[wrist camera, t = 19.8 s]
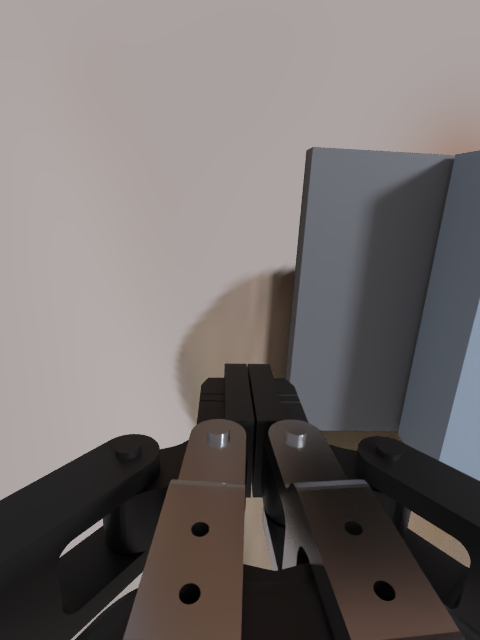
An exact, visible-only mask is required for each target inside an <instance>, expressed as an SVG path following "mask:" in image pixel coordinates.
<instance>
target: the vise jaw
mask: <svg viewBox="0 0 480 640" xmlns="http://www.w3.org/2000/svg"><path fill="white" fill-rule="evenodd" d="M398 436H399V437H400V438H401V440H402V441H403V443H404V444H406V445H408V446H410V447H412V448H414V449H416V450H418V451H420V452H422V453H424V454H426V455H429V456H431V457H433V458H435V459H437V460H439V461H441V462H443V463H445V464H447V465H449V466H451V467H453V468H455V469H457V470H459V471H461V472H463V473H465V474H467V475H469V476H471V477H473V478H475V479H477V480H479V481H480V151H474V152H468V153H463V154H457V155H455V159H454V164H453V169H452V174H451V178H450V183H449V188H448V193H447V198H446V203H445V207H444V212H443V217H442V222H441V227H440V232H439V237H438V241H437V246H436V251H435V256H434V261H433V266H432V271H431V275H430V280H429V285H428V290H427V295H426V300H425V304H424V309H423V314H422V319H421V324H420V329H419V334H418V338H417V343H416V348H415V353H414V358H413V363H412V368H411V372H410V377H409V382H408V387H407V392H406V397H405V401H404V406H403V411H402V416H401V421H400V426H399V431H398Z"/></svg>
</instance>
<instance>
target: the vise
mask: <svg viewBox="0 0 480 640" xmlns="http://www.w3.org/2000/svg"><path fill="white" fill-rule="evenodd" d="M454 159H455V155H454V156H453V155H438V154H421V153H404V152H387V151H386V152H385V151H370V150H353V149H335V148H319V147H312V148H311V149H309V150H307V152H306V162H305V163H306V164H305V174H304V185H303V195H302V205H301V216H300V226H299V237H298V247H297V258H296V268H295V279H294V290H293V300H292V311H291V321H290V332H289V343H288V353H287V364H286V375H285V379H286V380H288V381H289V382H290V383H291V384H292V385H294V386H295V389H296V392H297V394H298V397H299V399H300V403H301V405H302V407H303V410H304V412H305V415H306V417H307V420H308V423H310V424H312V425H314V426H315V427H317V428H318V429H319V430H320V431H382V432H398V431H399V426H400V421H401V416H402V411H403V406H404V401H405V397H406V392H407V387H408V382H409V377H410V372H411V368H412V363H413V358H414V353H415V348H416V343H417V338H418V334H419V329H420V324H421V319H422V314H423V309H424V304H425V300H426V295H427V290H428V285H429V280H430V275H431V271H432V266H433V261H434V256H435V251H436V246H437V241H438V237H439V232H440V227H441V222H442V217H443V212H444V207H445V203H446V198H447V193H448V188H449V183H450V178H451V174H452V169H453V164H454Z"/></svg>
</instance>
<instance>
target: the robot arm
mask: <svg viewBox="0 0 480 640" xmlns="http://www.w3.org/2000/svg"><path fill="white" fill-rule="evenodd" d="M251 483H252V493H253V497H263V504H264V505H263V520H262V521H263V527H264V532H265V536H266V541H267V546H268V550H269V555H270V560H271V564H272V569H273V570H267V569H263V568H258V567H254V566H250V565H245V564H243V551H244V515H245V506H246V497H250V496H251ZM411 511H413V512H414V513H416V514H417V515H419V516H421V517H422V518H424V519H425V520H427V521H429V522H430V523H432V524H433V525H435V526H437V527H438V528H440V529H441V530H443V531H445V532H446V533H448V534H450V535H451V536H453V537H454V538H456V539H457V540H458V541H459V542H461V543H462V545H463V546H464V547H465V548H466V550H467V551H468V553H469V556H470V560H471V564H470V568H468V567H466V566H464V565H462V564H461V563H459V562H458V561H456V560H455V559H453V558H452V557H450V556H449V555H447V554H446V553H444V552H443V551H441V550H440V549H438V548H437V547H435V546H434V545H432V544H431V543H429V542H428V541H426V540H425V539H423V538H422V537H420V536H419V535H417V534H416V533H414V532H413V531H411V530H410V529H408V528H407V527H408V522H409V517H410V513H411ZM102 518H103V526H102V527H101V528H99V529H98V530H96V531H95V532H94V533H93V534H91V535H90V536H89V537H87V538H86V539H84V540H83V541H82V542H80V543H79V544H78V545H76V546H75V547H74V548H72V549H71V550H70V551H68V552H67V553H66V554H64V555H63V556H61V557H60V555H61V553H62V551H63V550H64V549H65V547H66V546H67V545H68V544H69V543H70V542H71V541H72V540H73V539H75V538H76V537H77V536H78V535H80V534H81V533H82V532H84V531H86V530H87V529H88V528H90V527H91V526H92V525H94V524H95V523H96V522H98V521H99V520H101V519H102ZM59 557H60V558H59ZM142 572H143V574H142V577H141V581H140V584H139V587H138V588H137V589H135V590H133V591H131V592H129V593H128V594H126V595H125V596H123V597H122V598H120V599H119V600H117V601H116V602H115V603H113V604H112V605H111V606H110V607H108V608H107V609H106V610H105V611H103V612H102V613H101V614H100V615H99V616H98V617H97V618H96V619H95V620H94V621H93V622H92V623H91V624H90V625H89V626H88V627H87V628H86V629H85V630H84V631H83V632H82V633H81V634H80V635H79V636H78V637H77V638H76V639H75V640H480V481H479V480H477V479H475V478H473V477H471V476H469V475H467V474H465V473H463V472H461V471H459V470H457V469H455V468H453V467H451V466H449V465H447V464H445V463H443V462H441V461H439V460H437V459H435V458H433V457H431V456H429V455H426V454H424V453H422V452H420V451H418V450H416V449H414V448H412V447H410V446H408V445H406V444H404V443H402V442H400V441H398V440H395V439H392V438H388V437H380V436H374V437H368V438H365V439H363V440H362V441H361V442H360V443H359V445H358V450H357V451H353V450H349V449H344V448H339V447H335V446H333V445H330V444H328V443H327V441H326V439H325V437H324V435H323V434H322V432H321V431H320V430H319V429H318V428H317V427H315V426H314V425H312V424H310V423H308V420H307V417H306V415H305V412H304V410H303V407H302V405H301V403H300V399H299V397H298V394H297V392H296V389H295V386H294V385H292V384H291V383H290V382H289V381H288V380H286V379H274V378H273V374H272V371H271V367H270V364H248V366H247V365H246V364H225V372H224V378H208V379H207V380H206V381H205V382H204V383H203V384H202V385H201V393H200V402H199V410H198V418H197V425H196V426H195V427H194V428H193V429H192V431H191V434H190V437H189V440H188V441H186V442H184V443H182V444H180V445H177V446H174V447H170V448H165V449H160V450H159V445H158V443H157V442H156V441H155V440H154V439H153V438H151V437H148V436H145V435H139V434H130V435H123V436H120V437H117V438H114V439H112V440H110V441H108V442H106V443H104V444H102V445H101V446H99V447H97V448H95V449H93V450H91V451H90V452H88V453H86V454H84V455H82V456H81V457H79V458H77V459H75V460H74V461H71V462H70V463H68V464H66V465H64V466H62V467H60V468H59V469H57V470H55V471H53V472H51V473H50V474H48V475H46V476H44V477H42V478H41V479H39V480H37V481H35V482H33V483H31V484H30V485H28V486H26V487H24V488H22V489H20V490H19V491H17V492H15V493H13V494H11V495H9V496H8V497H6V498H4V499H2V500H1V501H0V640H71V639H72V638H73V637H74V636H75V635H76V634H77V633H78V632H79V631H80V630H81V629H82V628H83V627H84V626H85V625H87V624H88V623H89V622H90V621H91V620H92V619H93V618H94V617H95V616H96V615H97V614H98V613H99V612H100V611H101V610H103V609H104V607H106V606H107V605H108V604H109V603H110V602H111V601H112V600H113V599H114V598H115V597H116V596H117V595H118V594H119V593H121V592H122V591H123V590H124V589H125V588H126V587H127V586H128V585H129V584H130V583H131V582H132V581H133V580H134V579H135V578H136V577H137V576H139V575H140V574H141V573H142Z"/></svg>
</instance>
